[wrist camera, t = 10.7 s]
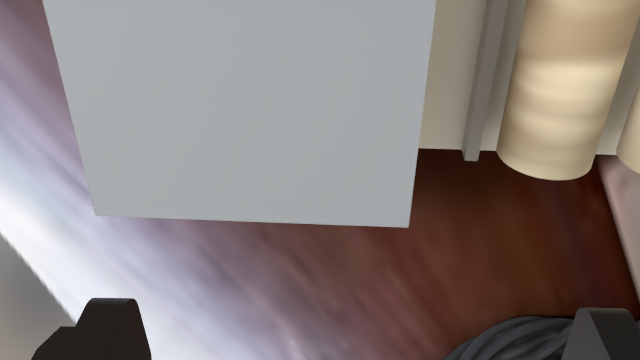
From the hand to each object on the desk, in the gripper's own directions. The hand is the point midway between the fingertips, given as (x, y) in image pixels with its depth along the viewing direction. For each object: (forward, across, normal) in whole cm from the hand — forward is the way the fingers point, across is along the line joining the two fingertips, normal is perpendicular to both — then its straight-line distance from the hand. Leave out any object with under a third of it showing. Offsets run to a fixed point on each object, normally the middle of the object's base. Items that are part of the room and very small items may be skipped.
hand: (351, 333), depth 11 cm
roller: (+15, -9, 0) cm, 17 cm away
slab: (+13, +4, 0) cm, 13 cm away
